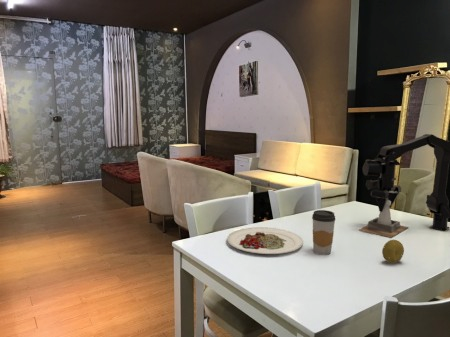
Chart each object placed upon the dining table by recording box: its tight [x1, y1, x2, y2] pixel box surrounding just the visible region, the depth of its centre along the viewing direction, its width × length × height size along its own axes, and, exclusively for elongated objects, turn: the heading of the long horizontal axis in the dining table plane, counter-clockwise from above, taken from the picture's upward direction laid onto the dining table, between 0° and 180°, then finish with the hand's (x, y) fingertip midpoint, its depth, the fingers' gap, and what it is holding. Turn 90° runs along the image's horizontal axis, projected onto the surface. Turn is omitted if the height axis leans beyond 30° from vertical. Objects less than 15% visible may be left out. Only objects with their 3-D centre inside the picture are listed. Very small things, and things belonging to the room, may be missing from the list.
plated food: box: [226, 226, 304, 255], centre depth 142 cm, size 30×30×3 cm
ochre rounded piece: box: [381, 239, 405, 264], centre depth 123 cm, size 8×4×8 cm, turn 110°
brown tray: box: [358, 216, 409, 239], centre depth 160 cm, size 20×14×4 cm
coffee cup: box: [311, 209, 336, 256], centre depth 132 cm, size 8×8×15 cm
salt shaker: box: [377, 200, 392, 226], centre depth 159 cm, size 6×6×13 cm
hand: (385, 209), depth 159 cm, fingers open, 9 cm apart
